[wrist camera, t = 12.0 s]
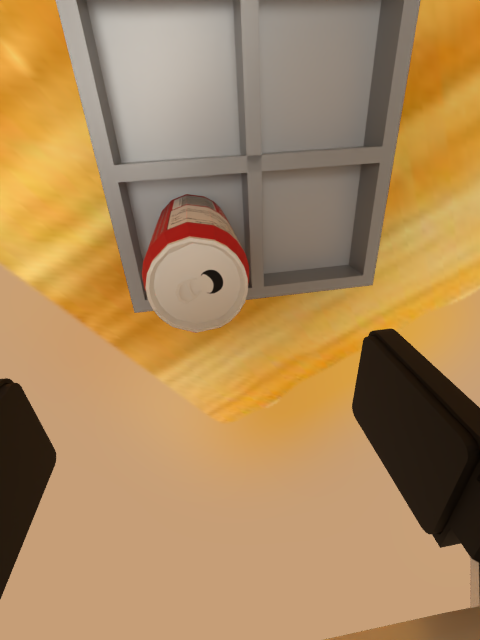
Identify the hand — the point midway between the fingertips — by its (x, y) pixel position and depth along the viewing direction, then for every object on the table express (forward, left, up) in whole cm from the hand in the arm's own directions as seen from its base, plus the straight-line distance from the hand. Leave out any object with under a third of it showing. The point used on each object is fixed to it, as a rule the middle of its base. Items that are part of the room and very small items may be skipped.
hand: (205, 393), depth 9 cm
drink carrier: (-5, -5, -20) cm, 21 cm away
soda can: (0, 0, -19) cm, 19 cm away
